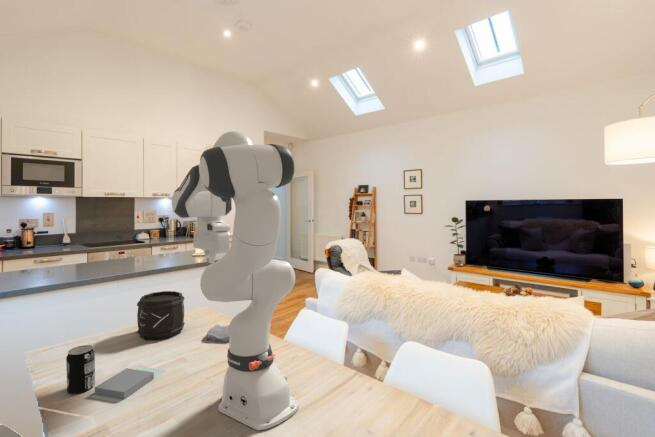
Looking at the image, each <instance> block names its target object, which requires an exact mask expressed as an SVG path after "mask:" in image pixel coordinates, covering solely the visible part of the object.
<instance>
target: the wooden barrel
mask: <svg viewBox="0 0 655 437" xmlns="http://www.w3.org/2000/svg"><path fill="white" fill-rule="evenodd" d="M184 301H185V296H184V295H183V293H181V292H178V291H176V290H175V291H171V290H170V291H169V290H167V291H166V290H164V291H158V292H157V291H155V292H150V293H148V294H145V295H142V296H141V298H140V299H139V301H137V303H136V306H137V322H136V323H137V328H138V330H137V331H136V333H137V334H138V335H139V337H140V338H141V339H143V340H144V341H162V340H166V339H171V338H174V337H176V336H177V335H178V336H179V335H180V334H181V333H182V330H183V329H184V326H185V324H186V323H185V322H184V320H185V302H184Z"/></svg>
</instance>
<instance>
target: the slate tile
mask: <svg viewBox="0 0 655 437" xmlns="http://www.w3.org/2000/svg"><path fill="white" fill-rule="evenodd" d="M151 380H152V381H154V372H148V371H141V370H135V369H133V368H127V367H126V368H125V369H123V370H121V371H119V372H118V373H116V374H115V375H113V376H111V377H109V378H108V379H106V380H104V381H103V382H101V383H100V384H98V385H96V386H94V395H95V394H97V395H102V396H108V397H114V398H120V399H125V400H127V399H128V398H129V397H131V396H132V395H134V394H135V393H137V392H138V391H139V390H141V389H142V388H144V387H145V386H147V383H148V382H149V383H151V382H152V381H151ZM150 381H151V382H150ZM149 383H148V384H149ZM144 385H145V386H144ZM141 387H142V388H141ZM140 388H141V389H140ZM138 389H139V390H138ZM137 390H138V391H137ZM134 392H135V393H134ZM131 394H132V395H131ZM130 395H131V396H130ZM128 396H129V397H128ZM127 397H128V398H127Z"/></svg>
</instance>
